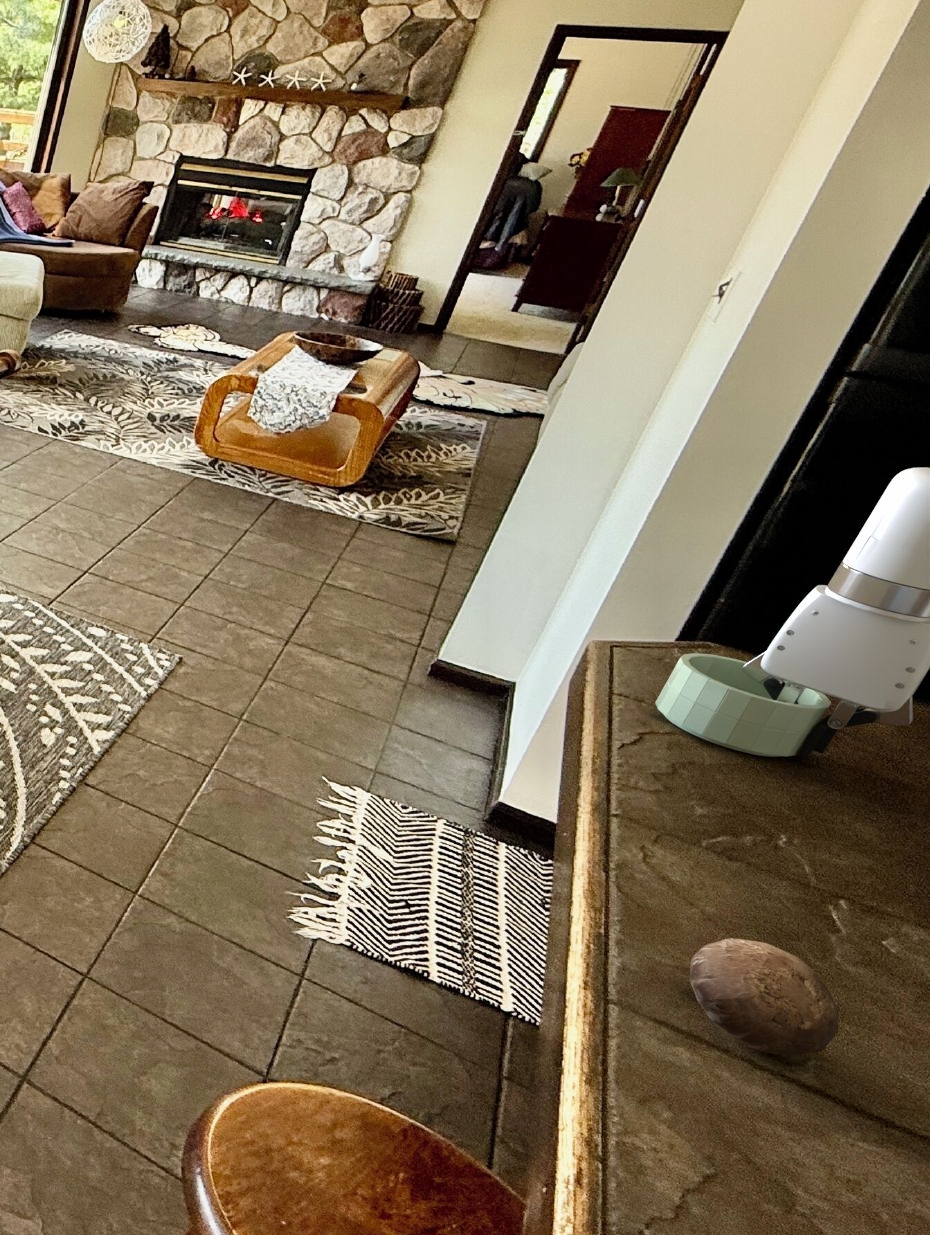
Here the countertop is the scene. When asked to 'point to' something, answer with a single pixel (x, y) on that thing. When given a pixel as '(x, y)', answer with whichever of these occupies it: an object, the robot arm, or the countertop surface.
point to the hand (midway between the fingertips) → (789, 747)
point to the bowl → (737, 707)
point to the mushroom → (764, 997)
